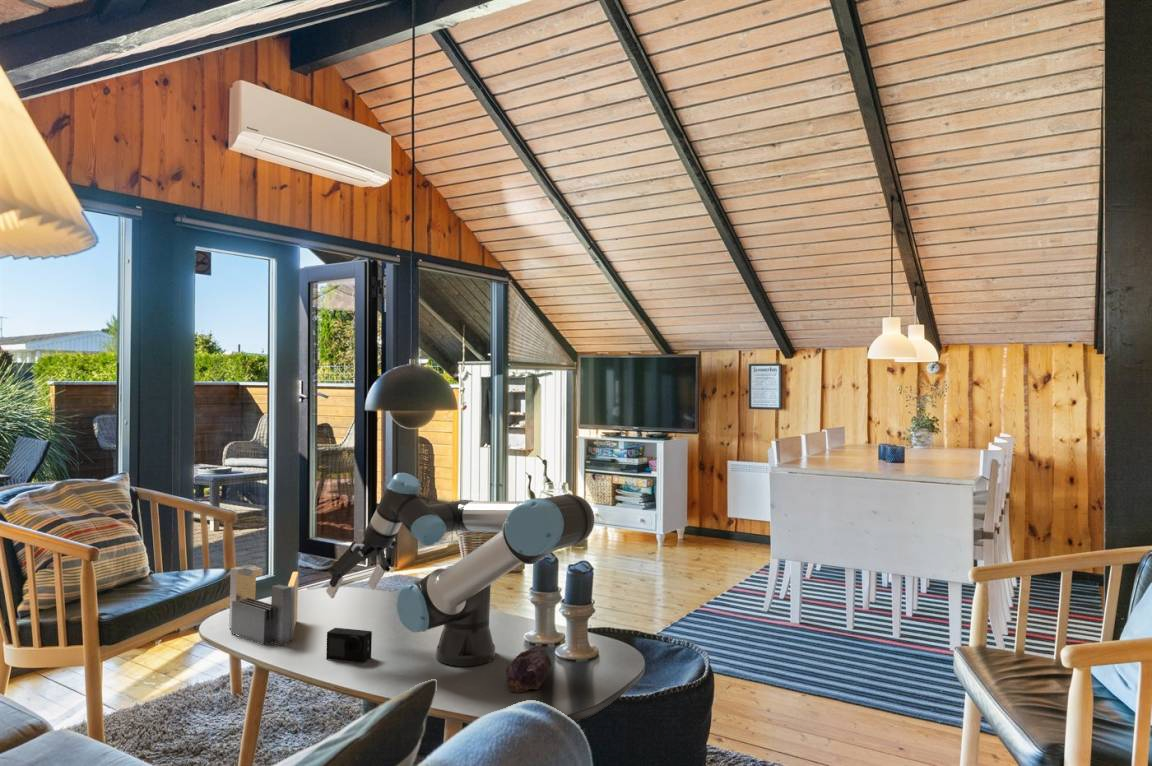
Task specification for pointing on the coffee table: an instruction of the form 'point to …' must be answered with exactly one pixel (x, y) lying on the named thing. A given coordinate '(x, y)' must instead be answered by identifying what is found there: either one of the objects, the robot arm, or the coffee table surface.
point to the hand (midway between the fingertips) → (350, 590)
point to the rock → (528, 670)
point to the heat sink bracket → (258, 608)
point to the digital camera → (349, 645)
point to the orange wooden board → (293, 602)
